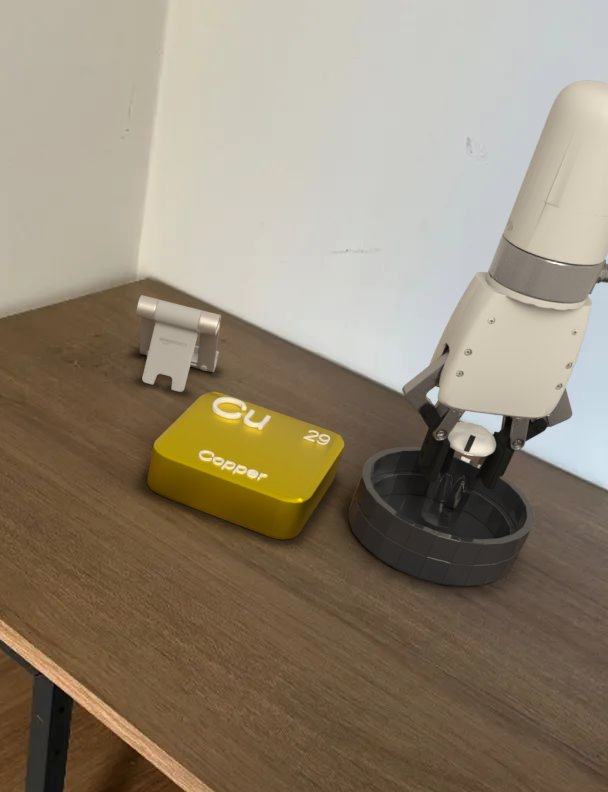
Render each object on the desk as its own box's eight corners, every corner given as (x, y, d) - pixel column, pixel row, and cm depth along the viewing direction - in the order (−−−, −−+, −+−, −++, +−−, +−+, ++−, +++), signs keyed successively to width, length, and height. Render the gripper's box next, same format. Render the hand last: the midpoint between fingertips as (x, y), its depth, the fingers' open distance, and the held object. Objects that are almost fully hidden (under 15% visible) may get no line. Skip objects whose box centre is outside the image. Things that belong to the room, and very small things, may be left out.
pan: (484, 500, 95) (504, 457, 92) (534, 598, 84) (559, 552, 81) (333, 483, 94) (348, 438, 91) (364, 580, 82) (382, 532, 79)
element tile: (138, 489, 88) (146, 443, 85) (200, 424, 99) (209, 382, 96) (291, 547, 84) (305, 501, 81) (338, 474, 95) (352, 431, 92)
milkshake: (408, 526, 86) (445, 427, 80) (417, 498, 90) (454, 401, 83) (458, 542, 85) (500, 443, 79) (466, 513, 89) (506, 416, 82)
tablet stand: (215, 369, 109) (230, 297, 104) (200, 398, 103) (215, 323, 98) (143, 350, 110) (154, 278, 105) (124, 377, 104) (135, 302, 99)
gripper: (628, 267, 76) (533, 466, 88) (423, 238, 75) (354, 444, 87) (668, 305, 71) (561, 512, 83) (448, 275, 69) (371, 490, 81)
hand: (456, 475), depth 84 cm, fingers closed on milkshake, 4 cm apart
